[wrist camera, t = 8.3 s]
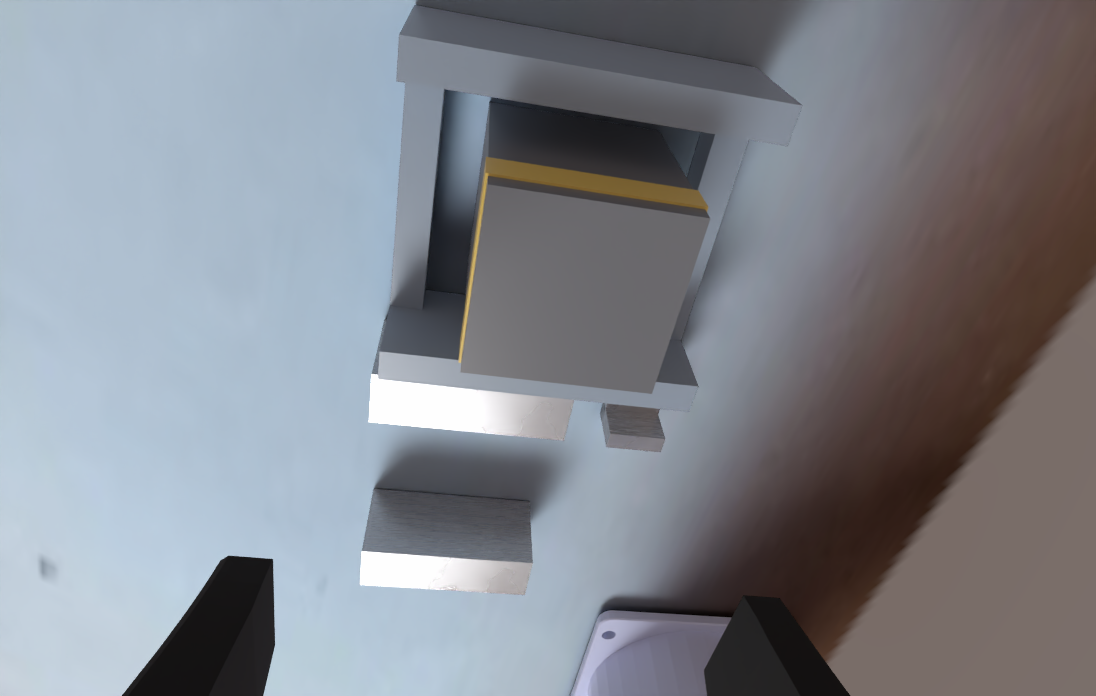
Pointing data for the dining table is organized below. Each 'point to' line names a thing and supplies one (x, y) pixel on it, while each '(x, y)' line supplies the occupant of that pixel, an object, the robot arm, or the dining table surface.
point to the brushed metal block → (449, 520)
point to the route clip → (632, 427)
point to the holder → (573, 84)
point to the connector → (577, 251)
